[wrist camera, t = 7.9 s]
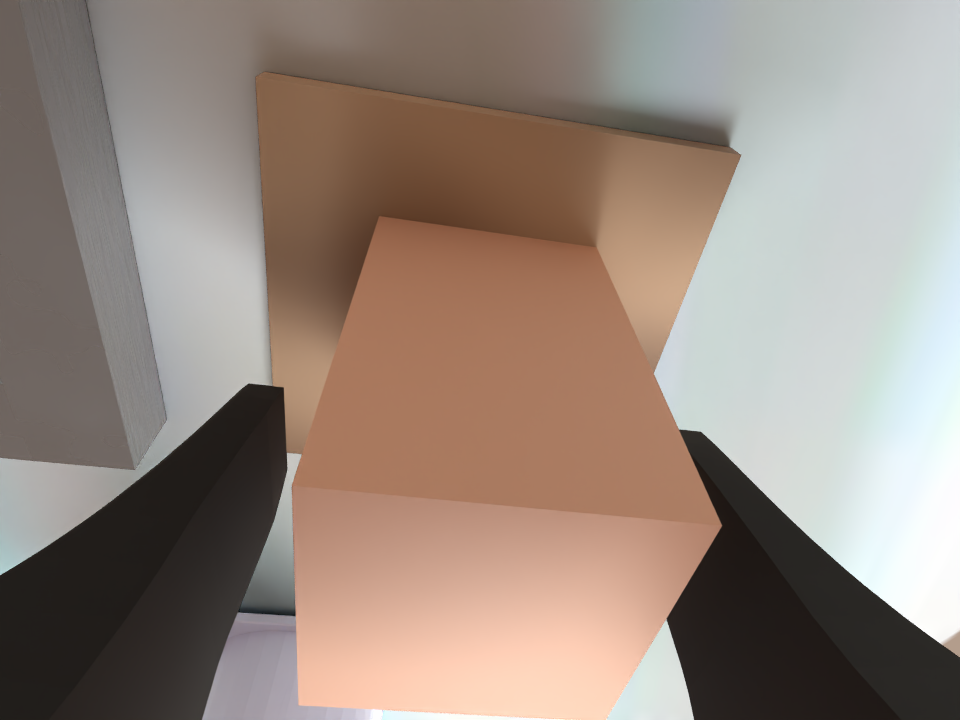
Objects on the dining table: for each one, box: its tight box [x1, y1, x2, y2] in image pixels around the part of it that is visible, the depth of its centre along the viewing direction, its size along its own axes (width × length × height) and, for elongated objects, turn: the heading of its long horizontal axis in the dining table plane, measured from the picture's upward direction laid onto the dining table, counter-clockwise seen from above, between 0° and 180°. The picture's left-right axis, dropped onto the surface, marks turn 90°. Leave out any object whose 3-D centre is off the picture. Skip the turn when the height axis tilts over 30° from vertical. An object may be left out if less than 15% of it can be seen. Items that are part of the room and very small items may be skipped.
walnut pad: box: [255, 72, 741, 454], centre depth 15 cm, size 10×10×1 cm
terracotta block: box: [292, 216, 722, 720], centre depth 11 cm, size 5×5×8 cm
